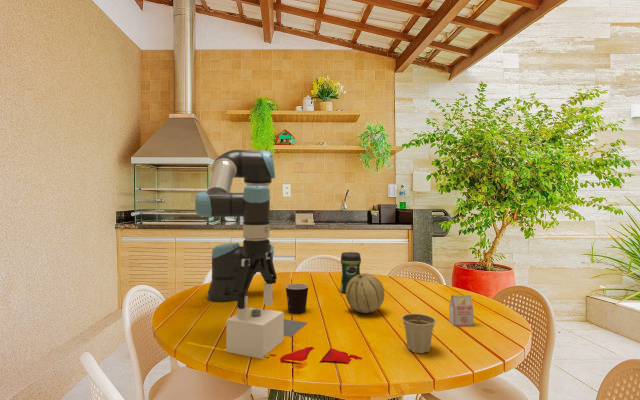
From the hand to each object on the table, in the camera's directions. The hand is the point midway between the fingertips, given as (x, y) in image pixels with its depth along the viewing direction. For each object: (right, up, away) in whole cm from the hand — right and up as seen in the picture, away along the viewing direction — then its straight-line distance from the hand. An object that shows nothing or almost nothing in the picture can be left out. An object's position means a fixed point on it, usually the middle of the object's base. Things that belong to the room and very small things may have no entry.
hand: (256, 311), depth 98 cm
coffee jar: (+33, -11, +60) cm, 69 cm away
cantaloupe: (+36, -11, +31) cm, 48 cm away
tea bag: (+67, -11, +18) cm, 71 cm away
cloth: (+17, -11, -6) cm, 22 cm away
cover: (0, -10, 0) cm, 10 cm away
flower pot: (+47, -10, -1) cm, 48 cm away
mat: (+6, -10, +14) cm, 18 cm away
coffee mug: (+10, -10, +31) cm, 34 cm away
